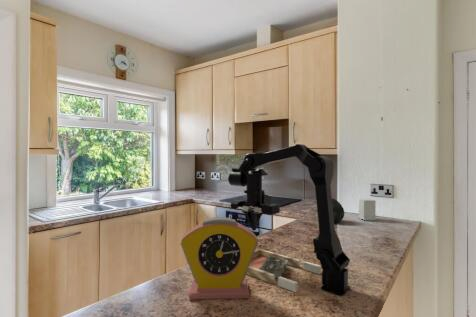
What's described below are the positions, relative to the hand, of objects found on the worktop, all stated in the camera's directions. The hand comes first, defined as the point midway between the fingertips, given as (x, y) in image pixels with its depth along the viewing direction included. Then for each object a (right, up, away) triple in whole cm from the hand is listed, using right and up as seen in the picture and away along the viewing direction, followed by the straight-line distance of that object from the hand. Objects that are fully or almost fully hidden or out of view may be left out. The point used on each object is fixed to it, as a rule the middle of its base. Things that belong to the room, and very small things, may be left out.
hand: (254, 230), depth 101 cm
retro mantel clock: (-11, -13, -20) cm, 27 cm away
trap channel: (+4, -13, -3) cm, 13 cm away
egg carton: (+7, -13, -6) cm, 16 cm away
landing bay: (+14, -13, -12) cm, 23 cm away
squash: (+51, -12, +66) cm, 84 cm away
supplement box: (+74, -12, +71) cm, 103 cm away
